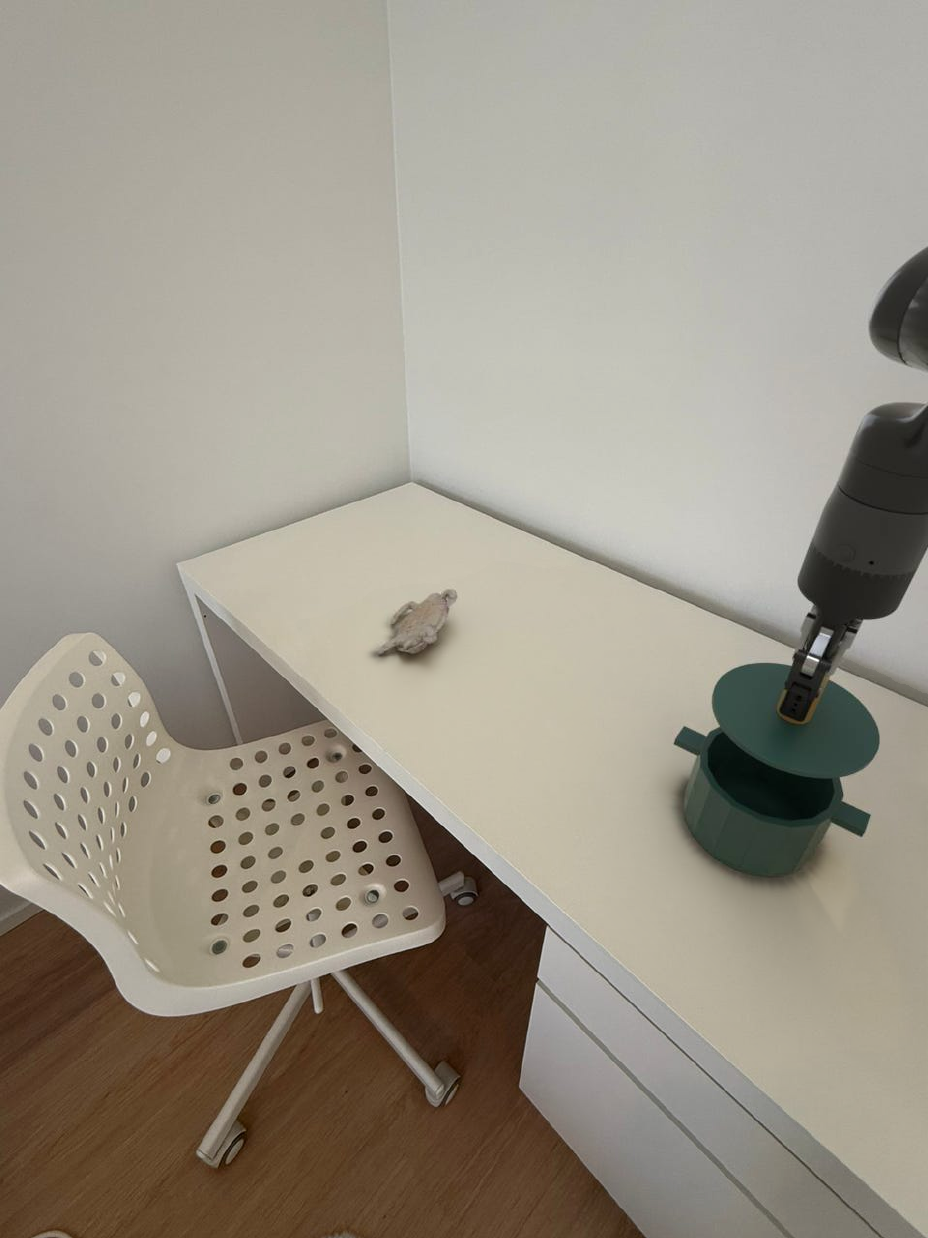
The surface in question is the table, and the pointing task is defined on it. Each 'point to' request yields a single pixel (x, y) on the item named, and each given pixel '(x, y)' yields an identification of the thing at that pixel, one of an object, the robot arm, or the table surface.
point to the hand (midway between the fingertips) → (797, 704)
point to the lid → (794, 723)
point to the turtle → (421, 622)
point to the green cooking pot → (758, 808)
